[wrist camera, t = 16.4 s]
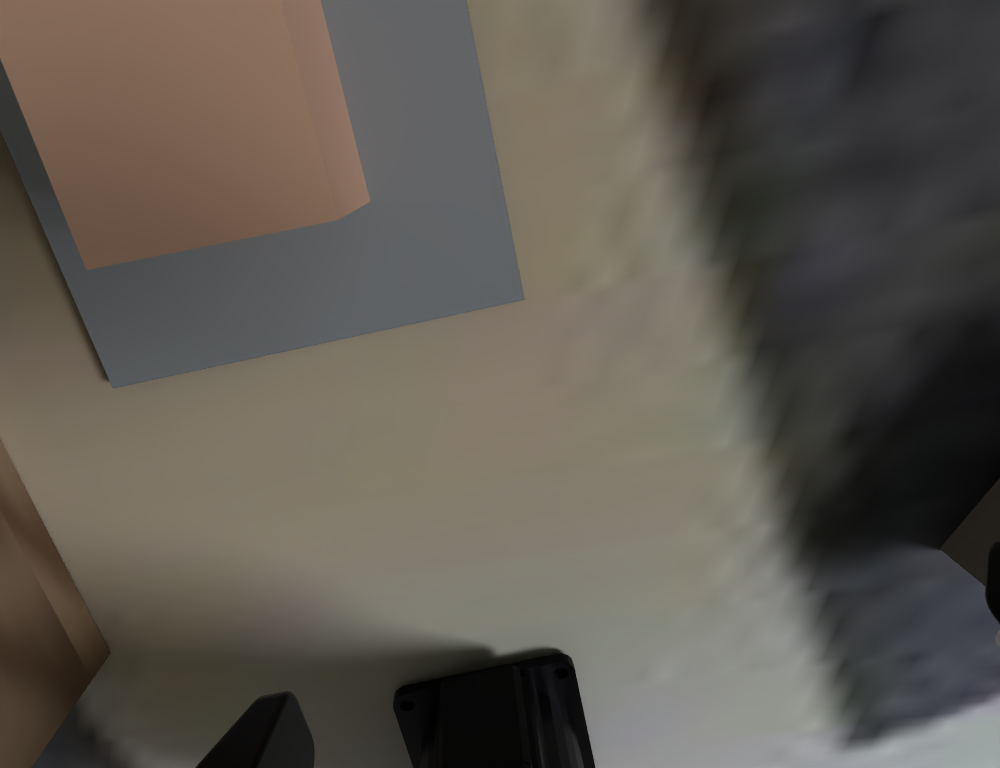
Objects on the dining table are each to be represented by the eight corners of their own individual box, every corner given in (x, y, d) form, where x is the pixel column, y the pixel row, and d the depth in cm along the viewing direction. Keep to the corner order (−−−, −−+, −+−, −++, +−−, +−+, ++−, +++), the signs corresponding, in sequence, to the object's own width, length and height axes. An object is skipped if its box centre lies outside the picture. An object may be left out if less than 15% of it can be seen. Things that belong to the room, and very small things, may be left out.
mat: (523, 296, 19) (524, 299, 19) (119, 384, 19) (113, 388, 19) (423, -213, 15) (422, -223, 14) (-89, -99, 15) (-103, -105, 15)
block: (370, 201, 17) (338, 220, 13) (186, 238, 17) (86, 270, 13) (317, -11, 16) (258, -80, 11) (113, 30, 16) (-32, -22, 11)
